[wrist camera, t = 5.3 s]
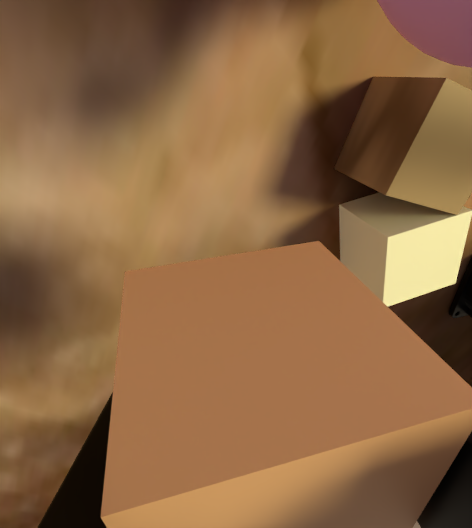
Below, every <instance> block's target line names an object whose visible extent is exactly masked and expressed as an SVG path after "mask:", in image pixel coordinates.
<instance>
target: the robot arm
mask: <svg viewBox="0 0 472 528" xmlns="http://www.w3.org/2000/svg"><path fill="white" fill-rule="evenodd" d="M449 315H450V316H452V317H453V318H458V317H462V316H466V315H469V316H470V317H472V259H471V260H470V263H469V265H468V268H467V270H466V273H465V275H464V277H463V280H462V282H461V285H460V287H459V289H458V292H457V294H456V297H455V299H454V302H453V304H452V306H451V309H450V311H449ZM112 397H113V393H112V394H111V396H110V398H109V400H108V402H107V403H106V405H105V407H104V409H103V411H102V412H101V414H100V416H99V418H98V420H97V421H96V423H95V425H94V427H93V429H92V430H91V432H90V434H89V436H88V438H87V439H86V441H85V443H84V445H83V447H82V448H81V450H80V452H79V454H78V456H77V457H76V459H75V461H74V463H73V465H72V466H71V468H70V470H69V472H68V474H67V475H66V477H65V479H64V481H63V483H62V484H61V486H60V488H59V490H58V492H57V494H56V495H55V497H54V499H53V501H52V503H51V504H50V506H49V508H48V510H47V512H46V513H45V515H44V517H43V519H42V521H41V522H40V524H39V526H38V528H107V527H106V525H105V524H104V522H103V520H102V519H101V508H102V498H103V488H104V478H105V468H106V458H107V448H108V438H109V428H110V417H111V407H112ZM417 521H418V523H419V525H420V526H421V528H472V432H471V433H470V435H469V436H468V438H467V440H466V441H465V443H464V445H463V446H462V448H461V449H460V451H459V453H458V454H457V456H456V458H455V459H454V461H453V462H452V464H451V466H450V467H449V469H448V471H447V472H446V474H445V475H444V477H443V479H442V480H441V482H440V484H439V485H438V487H437V488H436V490H435V492H434V493H433V495H432V497H431V498H430V500H429V502H428V503H427V505H426V506H425V508H424V510H423V511H422V513H421V515H420V516H419V518H418V519H417Z"/></svg>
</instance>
